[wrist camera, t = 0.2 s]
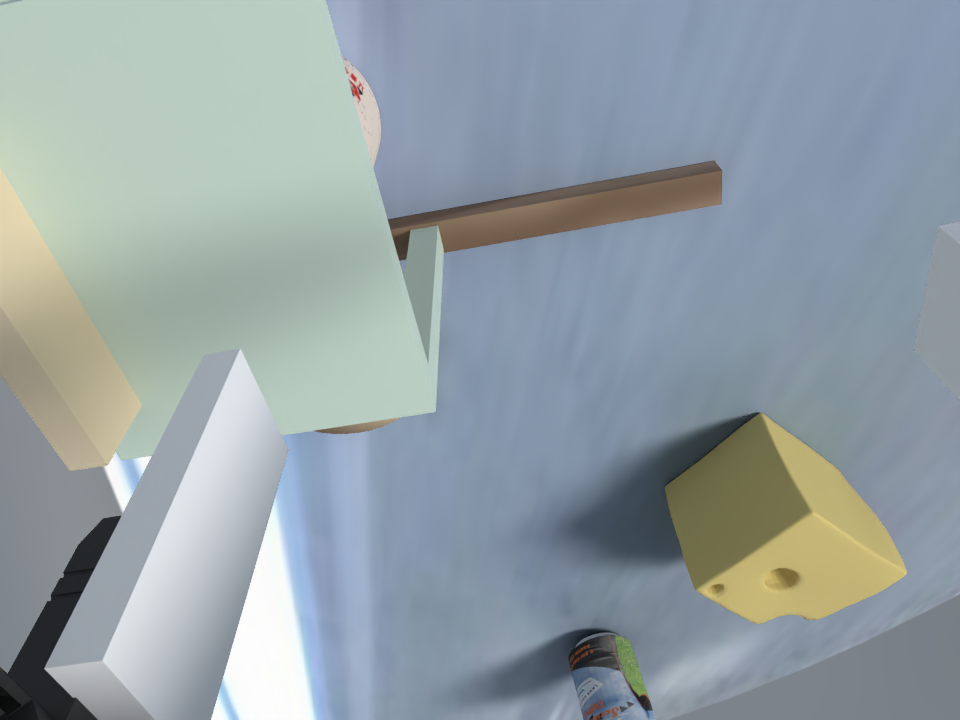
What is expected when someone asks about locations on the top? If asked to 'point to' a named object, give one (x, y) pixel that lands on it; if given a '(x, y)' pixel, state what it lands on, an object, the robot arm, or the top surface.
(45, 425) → the small green table
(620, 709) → the beverage can
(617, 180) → the rails
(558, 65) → the top surface
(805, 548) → the cheese
